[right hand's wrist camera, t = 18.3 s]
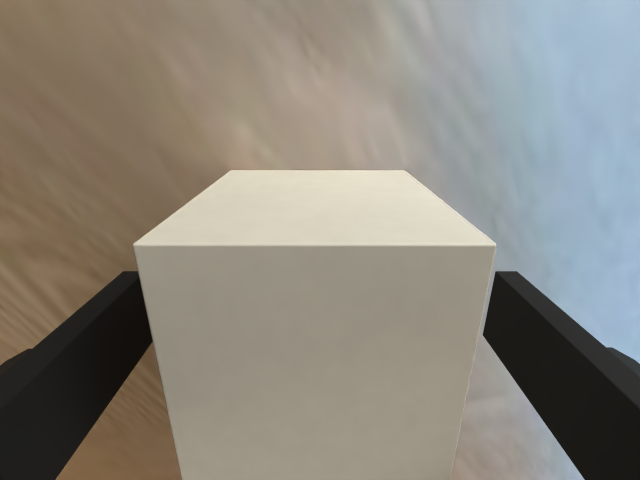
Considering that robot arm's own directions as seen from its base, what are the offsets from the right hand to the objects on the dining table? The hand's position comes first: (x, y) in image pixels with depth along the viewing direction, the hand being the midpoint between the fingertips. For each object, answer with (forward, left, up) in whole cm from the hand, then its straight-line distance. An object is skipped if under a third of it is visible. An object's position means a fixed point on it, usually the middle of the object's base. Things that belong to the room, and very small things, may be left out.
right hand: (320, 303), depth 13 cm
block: (0, 0, -3) cm, 3 cm away
